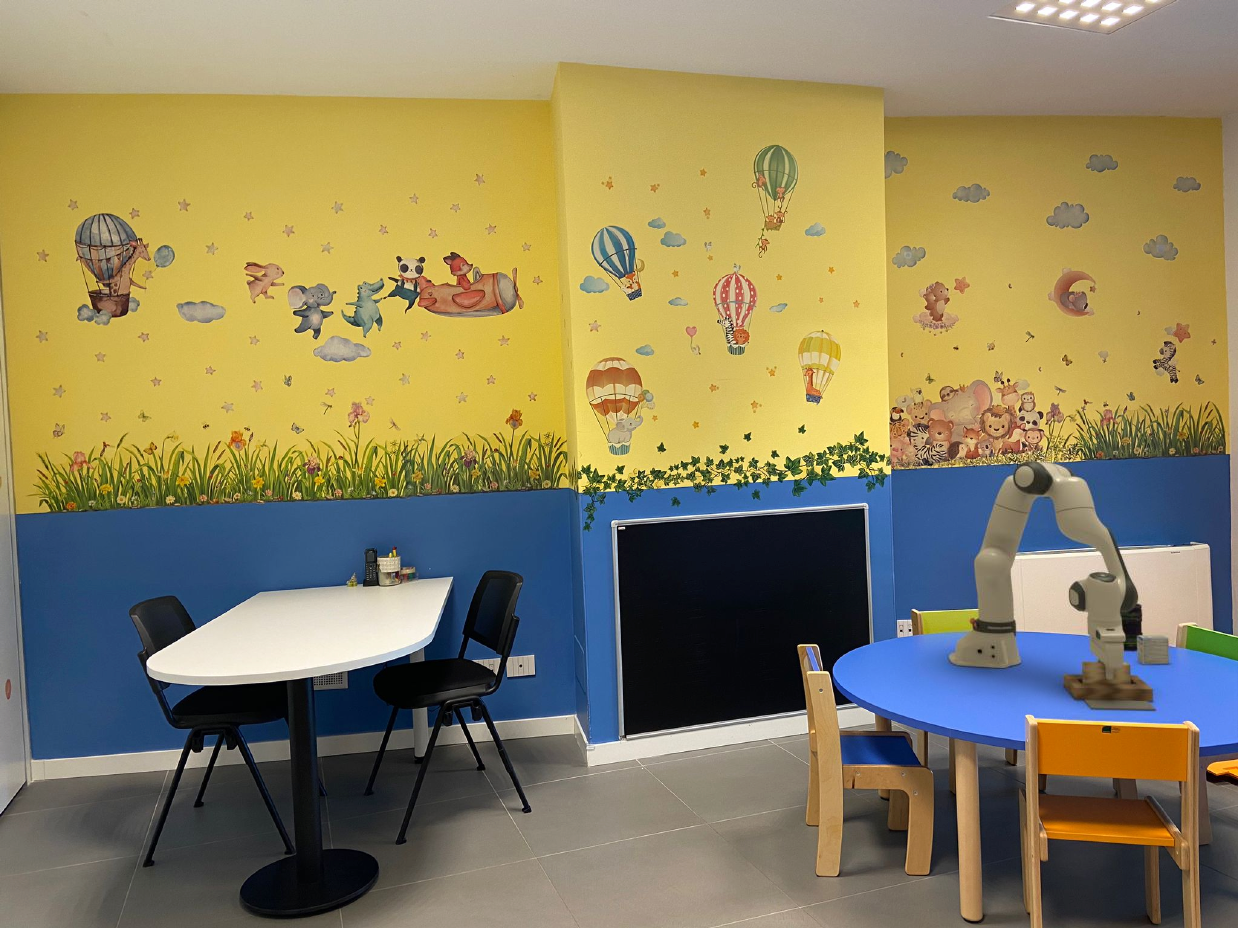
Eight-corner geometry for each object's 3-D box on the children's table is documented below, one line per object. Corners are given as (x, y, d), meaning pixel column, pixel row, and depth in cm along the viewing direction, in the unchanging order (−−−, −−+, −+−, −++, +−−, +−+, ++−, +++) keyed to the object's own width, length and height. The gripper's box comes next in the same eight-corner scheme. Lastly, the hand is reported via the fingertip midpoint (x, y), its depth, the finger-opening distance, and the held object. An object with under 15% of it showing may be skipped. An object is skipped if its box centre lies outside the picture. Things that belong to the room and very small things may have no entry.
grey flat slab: (1091, 709, 245) (1091, 707, 245) (1084, 701, 252) (1084, 699, 252) (1155, 710, 241) (1155, 708, 241) (1147, 702, 248) (1147, 700, 248)
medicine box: (1162, 660, 289) (1161, 634, 288) (1169, 664, 284) (1168, 637, 284) (1137, 661, 289) (1136, 635, 289) (1143, 664, 285) (1143, 638, 285)
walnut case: (1075, 699, 254) (1075, 687, 254) (1063, 685, 268) (1063, 674, 268) (1153, 701, 249) (1152, 688, 249) (1137, 686, 263) (1136, 675, 263)
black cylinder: (1150, 649, 303) (1148, 606, 302) (1124, 652, 301) (1123, 608, 300) (1129, 642, 312) (1127, 601, 312) (1104, 645, 311) (1102, 603, 310)
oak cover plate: (1085, 694, 258) (1084, 664, 258) (1083, 691, 261) (1081, 661, 261) (1131, 695, 256) (1130, 664, 255) (1128, 692, 258) (1126, 661, 258)
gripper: (1083, 621, 269) (1084, 666, 269) (1102, 637, 249) (1104, 685, 249) (1106, 621, 267) (1107, 666, 268) (1127, 637, 247) (1129, 686, 248)
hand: (1106, 675), depth 258 cm, fingers open, 4 cm apart
